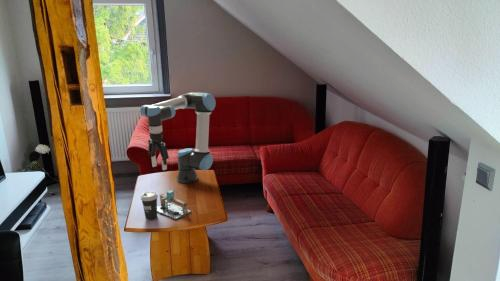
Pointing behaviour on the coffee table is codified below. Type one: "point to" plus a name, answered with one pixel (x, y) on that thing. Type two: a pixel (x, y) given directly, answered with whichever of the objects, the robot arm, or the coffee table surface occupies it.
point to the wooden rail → (183, 204)
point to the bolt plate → (172, 211)
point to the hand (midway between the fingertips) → (159, 167)
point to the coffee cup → (150, 205)
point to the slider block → (169, 197)
